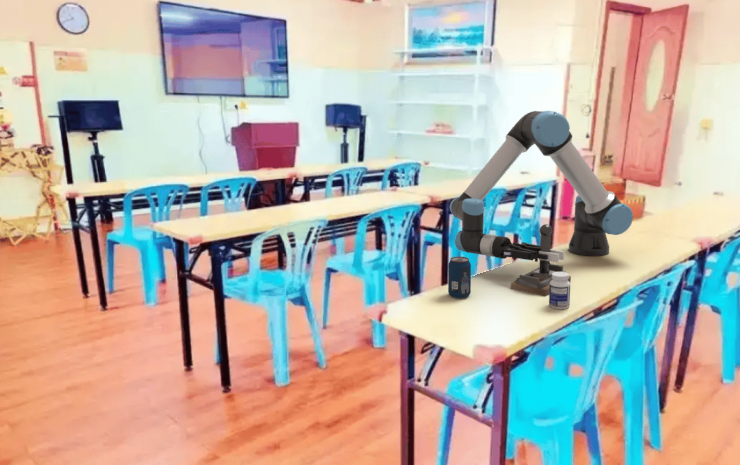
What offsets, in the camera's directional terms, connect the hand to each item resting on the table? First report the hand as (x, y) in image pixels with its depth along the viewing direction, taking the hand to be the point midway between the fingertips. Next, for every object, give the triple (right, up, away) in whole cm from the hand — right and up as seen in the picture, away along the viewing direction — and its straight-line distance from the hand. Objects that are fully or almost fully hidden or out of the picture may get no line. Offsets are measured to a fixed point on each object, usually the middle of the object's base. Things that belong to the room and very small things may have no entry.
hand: (561, 257), depth 178 cm
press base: (-5, -9, +4) cm, 12 cm away
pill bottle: (-6, -14, -15) cm, 21 cm away
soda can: (-33, -12, -3) cm, 35 cm away
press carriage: (-4, -7, +5) cm, 10 cm away
